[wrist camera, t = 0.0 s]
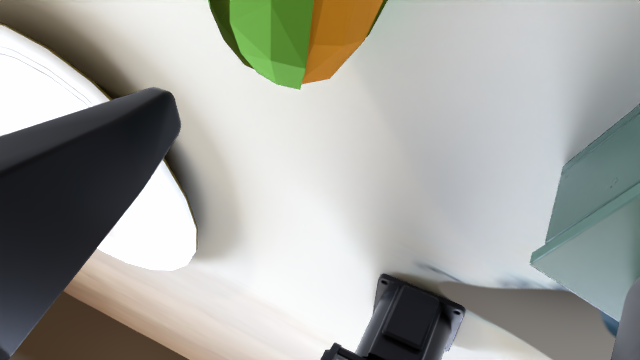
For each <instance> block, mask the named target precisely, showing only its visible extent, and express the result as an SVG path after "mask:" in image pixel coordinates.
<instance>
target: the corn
mask: <svg viewBox="0 0 640 360" xmlns="http://www.w3.org/2000/svg"><path fill="white" fill-rule="evenodd" d="M387 1H388V0H208V2H209V6H210V9H211V12H212V14H213V16H214V19H215V21H216V23H217V25H218V28H219V30H220V32H221V35H222V37H223V39H224V41H225V42H226V43H227V44H228V46H229V47H230V48H231V49H232V50H233V52H234V53H235V54H236V55H237V56H238V58H239V59H240V60H241V61H242V62H243V63H244V65H246V66H248V67H250V68H253V69H255V70H256V72H258V73H259V74H261V75H262V76H264V77H266V78H267V79H269V80H270V81H272V82H274V83H275V84H278V85H282V86H287V87H291V88H295V89H300V88H301V84H305V83H310V82H315V81H320V80H325V79H330V78H331V77H332V76H333V74H334V73H335V72H336V71H337V70H338V69H339V68H340V67H341V66H342V64H343V63H344V62H345V61H346V60H347V59H348V58H349V57H350V56H351V55H352V53H353V52H354V51H355V50H356V49H357V48H358V47H359V46H360V45H361V43H362V42H363V41H364V40H365V38H366V37H367V36H368V35H369V33H370V32H371V30H372V28H373V26H374V24H375V22H376V21H377V19H378V17H379V15H380V13H381V11H382V10H383V8H384V6H385V4H386V2H387Z"/></svg>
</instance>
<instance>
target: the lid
mask: <svg viewBox="0 0 640 360" xmlns="http://www.w3.org/2000/svg"><path fill="white" fill-rule="evenodd" d="M530 265H531V266H533V267H534V268H536V269H537V270H539V271H540V272H542V273H543V274H545V275H547V276H548V277H550V278H551V279H553V280H554V281H556V282H557V283H559V284H561V285H562V286H564V287H565V288H567V289H568V290H570V291H571V292H573V293H575V294H576V295H578V296H579V297H581V298H583V299H584V300H585V301H587V302H589V303H590V304H592V305H593V306H595V307H596V308H598V309H599V310H601V311H603V312H604V313H606V314H607V315H609V316H610V317H612V318H613V319H615V320H617V321H618V322H620V319H621V315H622V311H623V306H624V302H625V298H626V296H627V293H628V291H629V289H630V287H631V286H632V285H633V284H634V283H635V281H636V280H637V279H638V278H639V277H640V183H638V184H637V185H635V186H634V187H632V188H631V189H629V190H628V191H626V192H625V193H623V194H622V195H620V196H619V197H617V198H616V199H614V200H612V201H611V202H609V203H608V204H606V205H605V206H603V207H602V208H600V209H599V210H597V211H596V212H594V213H593V214H591V215H590V216H588V217H587V218H585V219H583V220H582V221H580V222H579V223H577V224H576V225H574V226H573V227H571V228H570V229H568V230H567V231H565V232H564V233H562V234H561V235H559V236H557V237H556V238H554V239H553V240H551V241H550V242H548V243H547V244H545V245H544V246H542V247H541V248H539V249H538V250H536V251H535V252H533V253H532V256H531V260H530Z"/></svg>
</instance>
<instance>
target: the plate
mask: <svg viewBox="0 0 640 360" xmlns="http://www.w3.org/2000/svg"><path fill="white" fill-rule="evenodd" d="M111 100H112V99H111V98H110V97H109V96H108V95H107V94H106V93H105V92H104V91H103V90H102V89H101V88H100V87H99V86H98V85H97V84H96V83H95V82H94V81H93V80H91V79H90V78H89V77H87V76H86V75H85V74H83V73H82V72H81V71H79V70H78V69H77V68H75V67H74V66H73V65H71V64H70V63H69V62H67V61H66V60H65V59H63V58H62V57H61V56H59V55H58V54H57V53H55V52H54V51H53V50H51V49H50V48H48V47H47V46H45V45H43V44H41V43H39V42H37V41H35V40H34V39H32V38H30V37H28V36H26V35H24V34H22V33H21V32H19V31H17V30H15V29H13V28H11V27H9V26H8V25H5V24H1V23H0V136H2V135H5V134H8V133H11V132H14V131H17V130H20V129H24V128H27V127H30V126H33V125H36V124H39V123H42V122H45V121H48V120H52V119H55V118H58V117H61V116H64V115H67V114H70V113H73V112H76V111H80V110H83V109H86V108H89V107H92V106H95V105H98V104H101V103H104V102H107V101H111ZM97 248H98V249H100V250H102V251H103V252H105V253H108V254H110V255H112V256H114V257H116V258H118V259H121V260H123V261H125V262H127V263H130V264H134V265H137V266H141V267H144V268H148V269H152V270H175V269H178V268H180V267H182V266H185V265H187V264H188V263H189V262H190V260H191V258H192V257H193V255H194V254H195V252H196V250H197V225H196V222H195V219H194V216H193V213H192V210H191V207H190V204H189V201H188V198H187V196H186V194H185V193H184V191H183V189H182V188H181V186H180V184H179V182H178V181H177V179H176V177H175V176H174V174H173V172H172V170H171V169H170V167H169V165H168V164H167V162H166V160H165V159H164V158H163V160H162V161H161V163H160V164H159V166H158V167H157V169H156V171H155V172H154V174H153V175H152V177H151V179H150V180H149V182H148V183H147V185H146V186H145V188H144V189H143V190H142V192H141V193H140V194H139V196H138V197H137V198H136V200H135V201H134V202H133V203H132V205H131V206H130V207H129V208H128V210H127V211H126V212H125V213H124V215H123V216H122V217H121V218H120V220H119V221H118V222H117V224H116V225H115V226H114V227H113V229H112V230H111V231H110V232H109V234H108V235H107V236H106V237H105V239H104V240H103V241H102V242H101V244H100V245H99V246H98V247H97Z"/></svg>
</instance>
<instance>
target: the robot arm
mask: <svg viewBox="0 0 640 360" xmlns="http://www.w3.org/2000/svg"><path fill="white" fill-rule="evenodd" d="M180 128H181V121H180V117H179V113H178V109H177V106H176V102H175V98H174V96H173V95H172V93H170V92H168V91H166V90H163V89H160V88H156V87H151V88H148V89H145V90H142V91H139V92H135V93H132V94H129V95H126V96H123V97H120V98H117V99H114V100H111V101H107V102H104V103H101V104H98V105H95V106H92V107H89V108H86V109H83V110H80V111H76V112H73V113H70V114H67V115H64V116H61V117H58V118H55V119H52V120H48V121H45V122H42V123H39V124H36V125H33V126H30V127H27V128H24V129H20V130H17V131H14V132H11V133H8V134H5V135H2V136H0V360H9V359H10V355H12V354H13V353H14V352H15V351H16V349H17V348H18V347H19V346H20V344H21V343H22V342H23V341H24V339H25V338H26V337H27V336H28V334H29V333H30V332H31V331H32V329H33V328H34V327H35V325H36V324H37V323H38V322H39V321H40V319H41V318H42V317H43V315H44V314H45V313H46V312H47V310H48V309H49V308H50V307H51V305H52V304H53V303H54V302H55V300H56V299H57V298H58V296H59V295H60V294H61V293H62V291H63V290H64V289H65V288H66V286H67V285H68V284H69V283H70V281H71V280H72V279H73V278H74V276H75V275H76V274H77V273H78V271H79V270H80V269H81V268H82V266H83V265H84V264H85V263H86V261H87V260H88V259H89V258H90V256H91V255H92V254H93V252H94V251H95V250H96V249H97V247H98V246H99V245H100V244H101V242H102V241H103V240H104V239H105V237H106V236H107V235H108V234H109V232H110V231H111V230H112V229H113V227H114V226H115V225H116V224H117V222H118V221H119V220H120V218H121V217H122V216H123V215H124V213H125V212H126V211H127V210H128V208H129V207H130V206H131V205H132V203H133V202H134V201H135V200H136V198H137V197H138V196H139V194H140V193H141V192H142V190H143V189H144V188H145V186H146V185H147V183H148V182H149V180H150V179H151V177H152V175H153V174H154V172H155V171H156V169H157V167H158V166H159V164H160V163H161V161H162V160H163V158H164V156H165V155H166V153H167V152H168V150H169V149H170V147H171V145H172V144H173V142H174V141H175V139H176V138H177V136H178V134H179V132H180ZM464 314H465V308H464V307H463V306H462V305H460V304H457V303H455V302H452V301H450V300H447V299H445V298H443V297H440V296H438V295H435V294H433V293H430V292H428V291H426V290H423V289H421V288H418V287H416V286H413V285H411V284H409V283H406V282H404V281H401V280H399V279H396V278H394V277H392V276H389V275H387V274H381V275H380V277H379V279H378V285H377V291H376V297H375V303H374V310H373V316H372V318H371V320H370V322H369V325H368V327H367V329H366V331H365V333H364V335H363V337H362V339H361V342H360V344H359V346H358V348H357V350H356V352H355V353H353V352H351V351H349V350H347V349H345V348H342V347H341V345H339V344H337V343H334V344H333V346H332V347H331V349H330V350H325V352H324V354H323V356H322V358H321V360H441V359H442V356H443V353H444V351H449V349H450V347H451V345H452V342H453V340H454V338H455V335H456V333H457V331H458V328H459V326H460V324H461V321H462V319H463V317H464ZM611 360H640V277H639V278H638V279H637V280H636V281H635V283H634V284H633V285H632V286H631V287H630V289H629V291H628V293H627V296H626V298H625V302H624V306H623V311H622V315H621V319H620V323H619V327H618V332H617V336H616V340H615V345H614V349H613V353H612V357H611Z"/></svg>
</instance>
